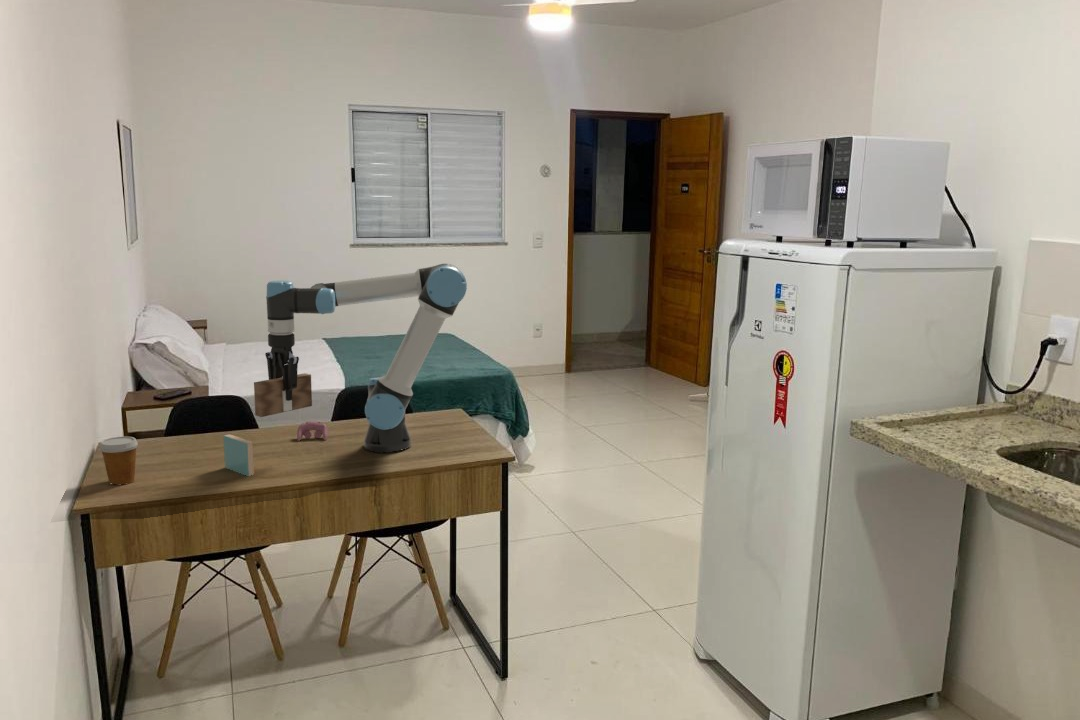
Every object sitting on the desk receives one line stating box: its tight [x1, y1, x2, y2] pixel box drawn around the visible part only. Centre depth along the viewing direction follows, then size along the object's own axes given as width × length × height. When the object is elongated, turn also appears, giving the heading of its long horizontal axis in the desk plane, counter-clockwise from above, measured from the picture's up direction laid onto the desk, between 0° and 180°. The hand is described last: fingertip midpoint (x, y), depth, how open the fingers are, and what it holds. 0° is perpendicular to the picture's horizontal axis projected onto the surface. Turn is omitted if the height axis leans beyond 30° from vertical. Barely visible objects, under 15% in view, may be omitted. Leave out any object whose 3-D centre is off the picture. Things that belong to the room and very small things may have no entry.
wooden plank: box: [253, 372, 313, 418], centre depth 240 cm, size 18×3×10 cm, turn 143°
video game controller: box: [296, 420, 328, 442], centre depth 268 cm, size 10×5×7 cm, turn 101°
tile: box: [222, 434, 255, 477], centre depth 233 cm, size 2×12×10 cm, turn 52°
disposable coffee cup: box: [99, 436, 139, 485], centre depth 222 cm, size 10×10×12 cm
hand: (283, 409), depth 241 cm, fingers closed on wooden plank, 3 cm apart
